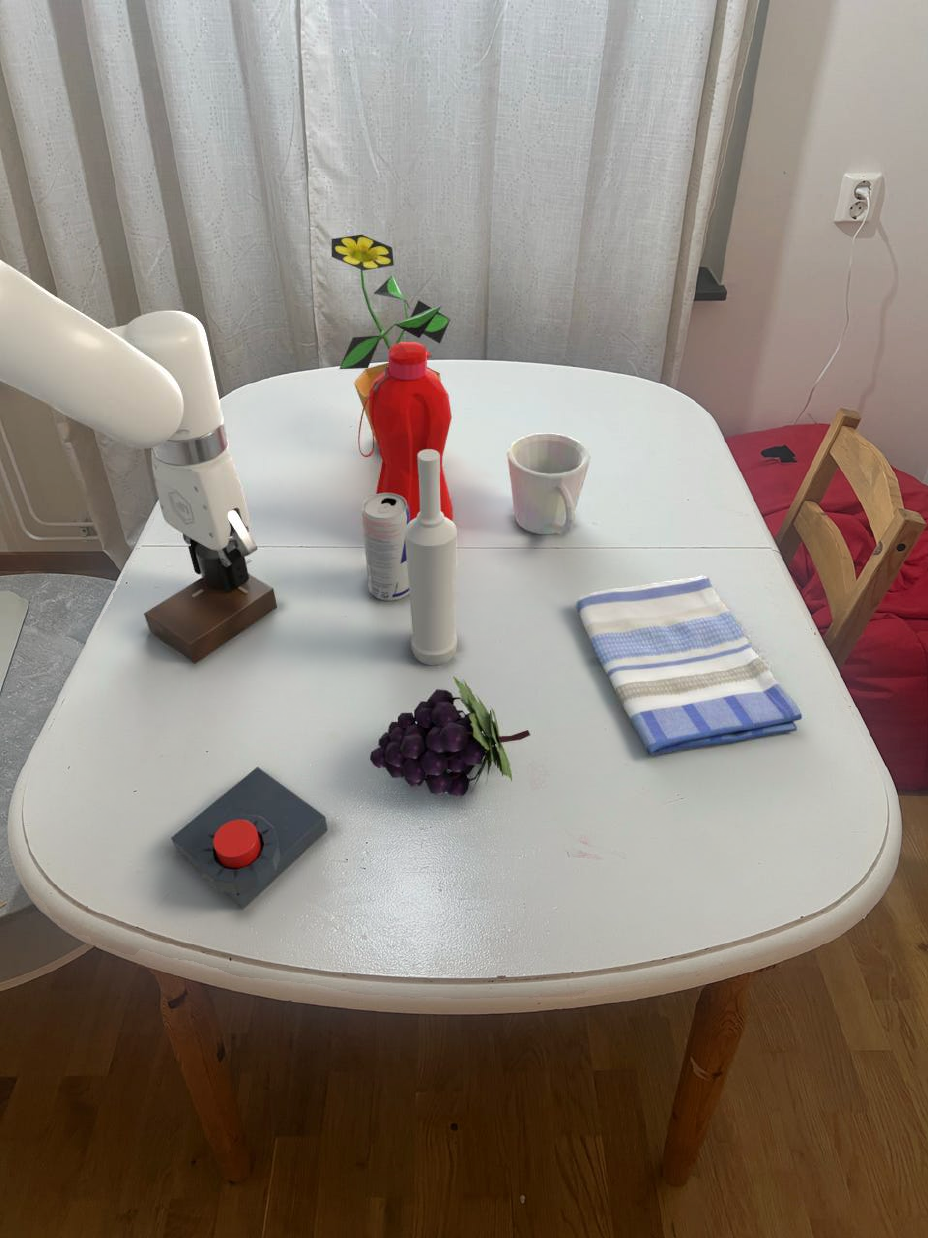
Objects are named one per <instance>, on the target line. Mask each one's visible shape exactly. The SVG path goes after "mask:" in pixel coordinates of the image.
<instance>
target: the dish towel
mask: <svg viewBox="0 0 928 1238" xmlns="http://www.w3.org/2000/svg"><path fill="white" fill-rule="evenodd" d="M575 607H576V610H577V612H578V614H579V616H580V619H581V623H582V625H583V627H584V630H585V632H586V634H587V636H588V639H589V642H590V645H591V646H592V649H593V651H594V654H595V656H596V657H597V660H598V661H599V663H600V665H601V667H602V669H603V670H604V672H605V674H606V675H607V676H608V679H609V680H610V682H611V685H612V687H613V689H614V692H615V694H616V697H617V698H618V701H619V702H620V704H621V706H622V707H623V709H624V711H625V712H626V714H627V716H628V718H629V720H630V722H631V724H632V726H633V727H634V729H635V731H636V733H637V735H638V737H639V739H640V741H641V743H642V744H643V746H644V748H645V749H646V751H647V753H648V754H650V755H661V754H665V753H670V752H676V751H680V750H686V749H694V748H700V747H709V746H716V745H720V744H729V743H730V744H731V743H736V742H740V741H744V740H748V739H755V738H760V737H764V736H765V737H766V736H772V735H778V734H783V733H790V732H797V729H798V728H797V725H796V723H795V722H796V721H799V720H802V717H803V714H802V712H801V709H800V707H799V706H798V705H797V703H796V702H795V700H794V699H793V698H792V697H791V696H790V694H788V692H787V691H786V690H785V689H784V688H783V687H782V685H781V684H780V683H779V682H778V681H777V680H776V679H775V677H774V675H773V674H772V673H771V670H770V668H769V667H768V665H767V663H766V662H765V660H764V659H763V658H762V657H761V656H759V655H758V654H757V653H756V652H755V650H754V649H753V648H752V646H751V645H750V643H749V641H748V638H747V635H746V633H745V631H744V630H743V628H742V626H741V625H740V623H739V621H737V619H736V617H735V616H734V615H733V613H732V612H731V610H729V609H728V608H727V606H726V605H725V603H724V602H723V600H722V599H721V598H720V597H719V595H718V593H717V592H716V590H715V589H714V588H713V584H712V582H711V580H710V578H709V577H707V576H704V575H702V574H701V575H699V576H696V577H689V578H688V577H687V578H686V577H685V578H678V579H672V580H665V581H659V582H651V583H645V584H642V585H636V586H629V587H622V588H619V587H613V588H609V589H602V590H597V591H592V592H588V593H586V594H583V595H581V596H579V597H578V599H577V600H576V601H575Z"/></svg>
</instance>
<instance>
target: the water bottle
mask: <svg viewBox="0 0 928 1238" xmlns="http://www.w3.org/2000/svg"><path fill="white" fill-rule="evenodd" d="M387 355H388V357H387V358H388V359H387V361H388V363H389V367H385V369H384V371H385V372H383V373H381V374H380V375H379V376H378V377H377V378H376V379H375V380H374V381H373V382H372V385H371V388H370V391H369V397H368V398H367V400H366V401H365V404H364V407H363V406H362V411H361V414H360V421H359V425H358V436H357V440H358V441H357V443H358V449H359V453H360V455H361V456H362V457H364V458H369V457H371V456H372V455H373V453H374V451H375V450H374V449H375V437H374V434H373V427H374V430H375V434H376V438H377V442H378V445H377V446H378V450H379V454H380V458H381V465H380V471H379V474H378V481H377V486H376V491H375V495H376V494H380V493H393V494H397V495H400V496H402V497H403V498H404V499H405V500H406V502H407V505H408V507H409V510H410V521H411V520H413V519H415V518H416V517H417V514H418V513H419V512H420V492H419V474H418V453H419V452H420V451H422V450H426V449H432V450H436V451H438V452H439V454H440V511H441V512H442V513H443V514H444V517H446V518H448V519H449V520H451V521H452V522H454V517H453V515H454V514H453V504H452V500H451V499H452V498H451V496H450V492H449V488H448V483H447V480H446V476H445V472H444V467H443V455H444V452H445V448H446V444H447V439H448V435H449V431H450V426H451V422H452V418H453V417H452V409H451V403H450V396H449V393H448V392H447V390H446V388H445V387H444V385H443V383H442V381H441V382H440V380H439V379H438V377H437V375H436V374H435V372H433V371H431V370H429V369H427V367H428V358H432V357H433V356H432V355H431V353H430V352H429V351H427V347H426V346H425V345H424V344H421V343H419V342H416V341H400V343H397V344H396V343H395V344H393V345H391V348H390V349H388V353H387ZM368 400H369V415H370V418H371V425H372V424H373V425H372V429H371V432H372V433H371V435H372V449H371V452H370V453H368V454H364V453H363V452H362V451H361V445H360V443H361V442H360V438H361V437H360V435H361V427H362V421H363V416H364V413H365V411H364V409H365V406H366V403H367V401H368Z"/></svg>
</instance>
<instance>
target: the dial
mask: <svg viewBox="0 0 928 1238" xmlns="http://www.w3.org/2000/svg"><path fill="white" fill-rule="evenodd" d="M234 548H235V546H234V544H233V541H232V542H230V543H228V545H227V547H226V549H227V552H228V553H229V552H230V551H231V550H233V549H234ZM195 552H196V556H197V560H198V563H199V567H200V571H201V574H200V575H201V578H202V579H203V582H204V584H205V585H206V586H207V587H209V588H211V589H217V590H221V589H224V586H223V582H222V578H221V574H220V569H219V564H220V563H221V560H220V557H219V555H218V552H217V551H215V550H212V549H209V548H207V547H206V546H204V545H202V544H200V543H198V544H197V546H196V548H195Z"/></svg>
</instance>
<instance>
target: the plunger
mask: <svg viewBox="0 0 928 1238" xmlns="http://www.w3.org/2000/svg"><path fill="white" fill-rule="evenodd" d="M213 844H214V848H215V851H216V854H217V857H218V859H219V861H220V862H221V863H222V864H223V865H224V866H226V867H229V868H241V867H245V866H247V865H249V864H250V863H252V862H253V861H254V860H255V859H256V858H257V856H258V854H259V852H260V848H261V844H260V840H259V836H258V833H257V830H256V828H255V826H254V825H253V824H252V823H250V822H248V821H245V820H234V821H230V822H228V823H226V824H224V825H223V826H221V827H220V828H219V829H218V831H217V832H216V834H215V836H214V840H213Z"/></svg>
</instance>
